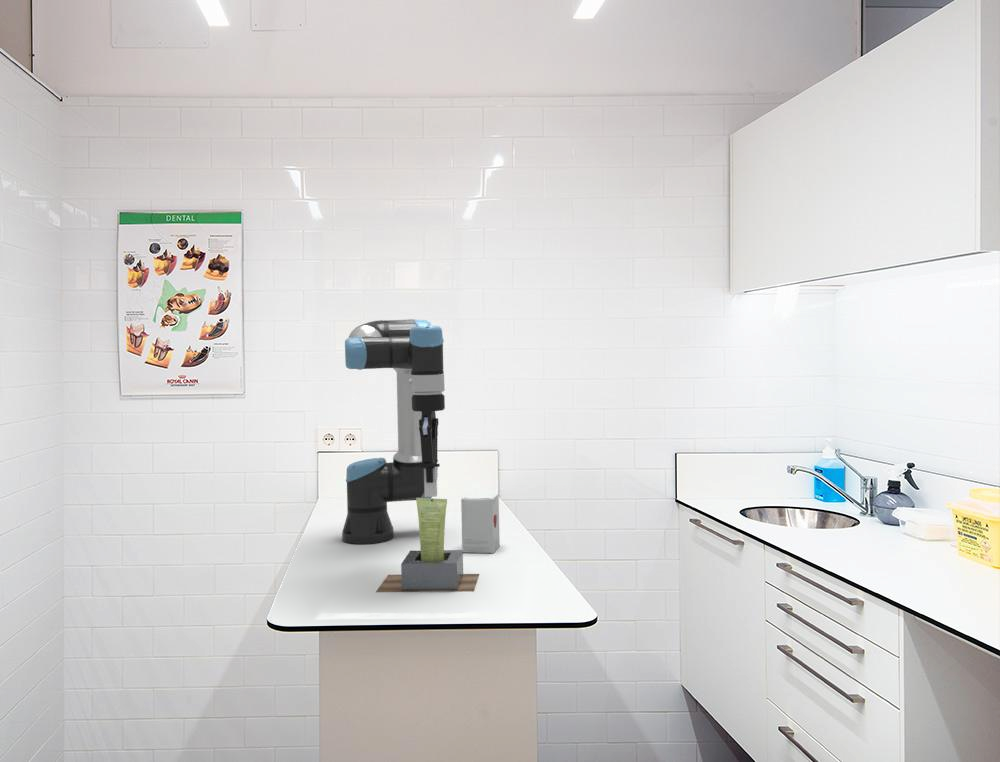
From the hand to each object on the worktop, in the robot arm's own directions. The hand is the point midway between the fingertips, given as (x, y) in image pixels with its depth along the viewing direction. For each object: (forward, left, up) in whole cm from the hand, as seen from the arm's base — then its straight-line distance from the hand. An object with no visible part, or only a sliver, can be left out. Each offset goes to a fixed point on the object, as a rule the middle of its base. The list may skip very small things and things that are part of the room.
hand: (431, 496), depth 182 cm
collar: (0, 0, -20) cm, 20 cm away
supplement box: (-36, +8, -22) cm, 43 cm away
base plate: (0, -1, -21) cm, 21 cm away
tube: (0, 0, -20) cm, 20 cm away
